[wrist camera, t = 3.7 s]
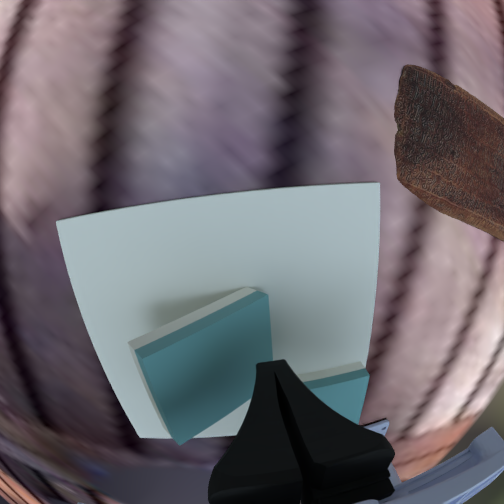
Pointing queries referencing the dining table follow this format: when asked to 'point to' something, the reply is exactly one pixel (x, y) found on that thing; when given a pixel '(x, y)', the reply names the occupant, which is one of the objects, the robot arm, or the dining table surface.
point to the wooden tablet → (450, 149)
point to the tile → (205, 361)
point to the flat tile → (340, 388)
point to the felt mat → (229, 276)
